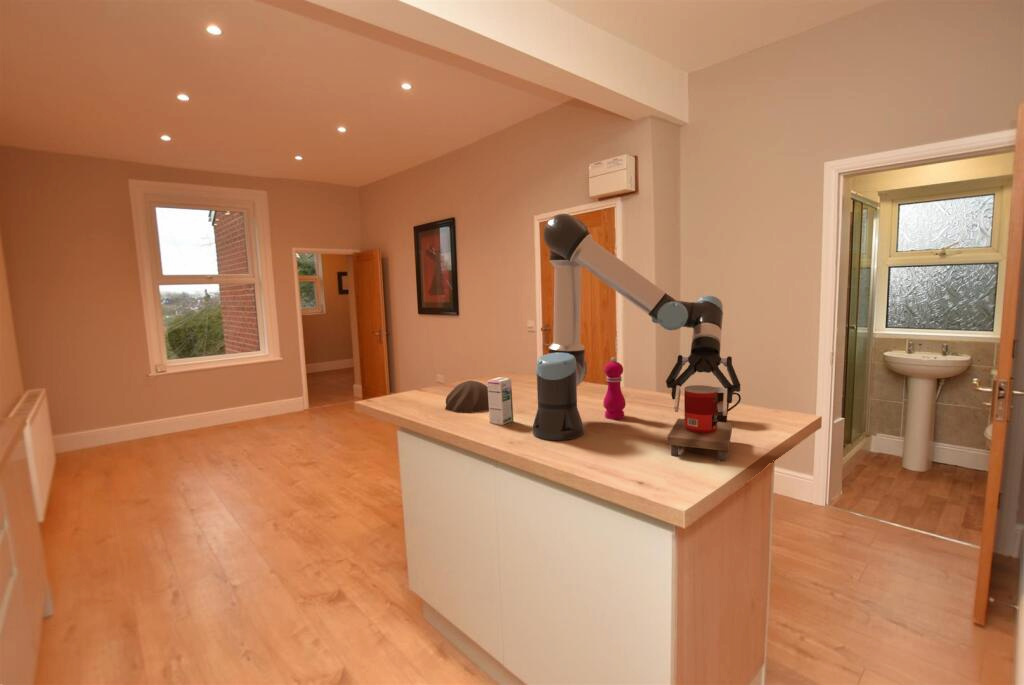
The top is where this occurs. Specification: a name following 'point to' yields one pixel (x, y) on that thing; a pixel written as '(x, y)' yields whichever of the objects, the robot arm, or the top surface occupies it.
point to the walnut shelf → (700, 438)
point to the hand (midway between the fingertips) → (699, 411)
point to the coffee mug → (720, 405)
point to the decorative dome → (468, 397)
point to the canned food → (700, 408)
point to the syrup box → (500, 400)
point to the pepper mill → (614, 391)
